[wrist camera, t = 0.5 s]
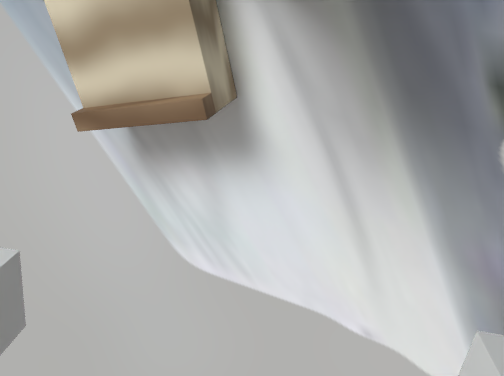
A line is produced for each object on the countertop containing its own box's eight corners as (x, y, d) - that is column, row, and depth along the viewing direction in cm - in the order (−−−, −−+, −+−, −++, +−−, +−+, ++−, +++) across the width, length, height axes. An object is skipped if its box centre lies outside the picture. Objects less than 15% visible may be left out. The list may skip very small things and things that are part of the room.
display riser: (61, -62, 35) (4, -62, 31) (192, -106, 30) (148, -114, 26) (118, 110, 41) (77, 131, 36) (237, 97, 36) (207, 119, 31)
